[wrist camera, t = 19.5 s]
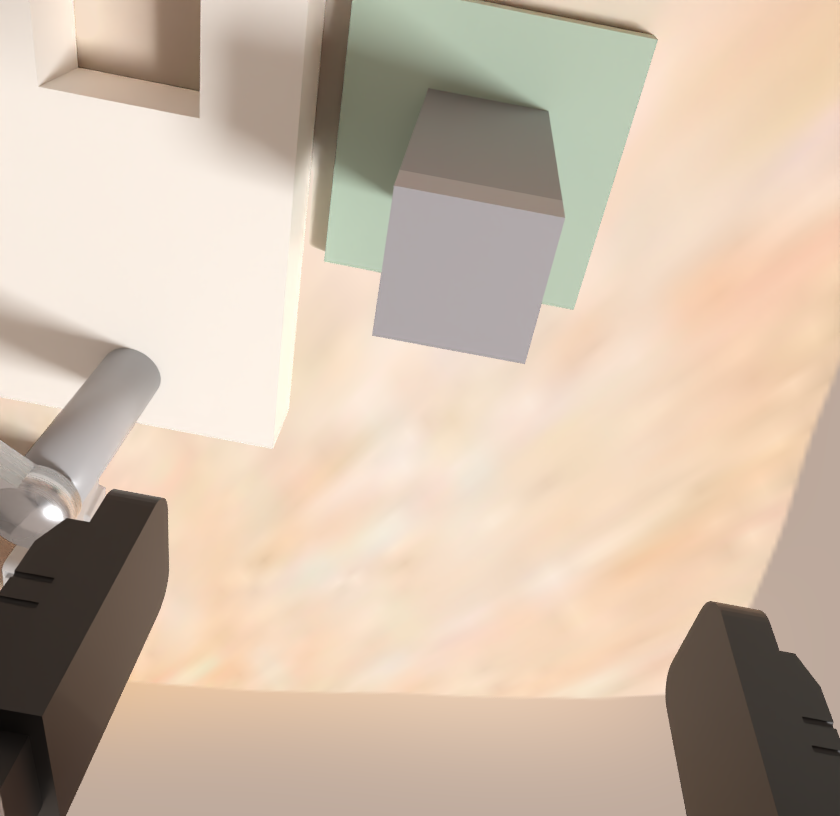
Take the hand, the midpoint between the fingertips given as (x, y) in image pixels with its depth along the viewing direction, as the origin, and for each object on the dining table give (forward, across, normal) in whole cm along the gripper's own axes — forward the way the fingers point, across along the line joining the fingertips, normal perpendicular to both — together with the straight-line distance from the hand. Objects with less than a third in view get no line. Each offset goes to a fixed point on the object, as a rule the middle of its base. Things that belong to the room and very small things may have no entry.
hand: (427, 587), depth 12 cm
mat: (+21, 0, 0) cm, 21 cm away
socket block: (+21, +12, +3) cm, 25 cm away
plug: (+20, 0, 0) cm, 21 cm away
